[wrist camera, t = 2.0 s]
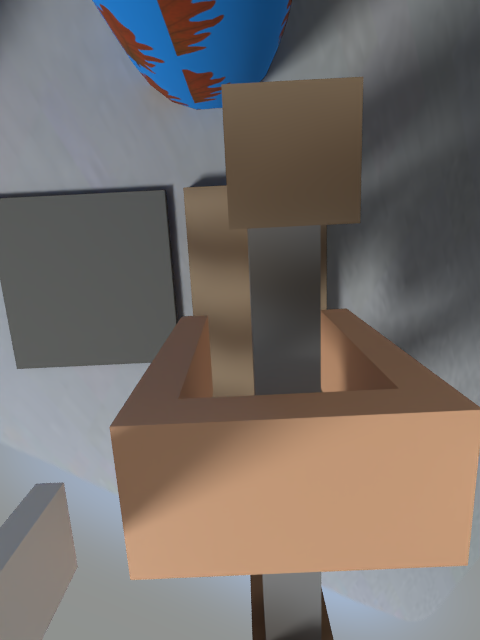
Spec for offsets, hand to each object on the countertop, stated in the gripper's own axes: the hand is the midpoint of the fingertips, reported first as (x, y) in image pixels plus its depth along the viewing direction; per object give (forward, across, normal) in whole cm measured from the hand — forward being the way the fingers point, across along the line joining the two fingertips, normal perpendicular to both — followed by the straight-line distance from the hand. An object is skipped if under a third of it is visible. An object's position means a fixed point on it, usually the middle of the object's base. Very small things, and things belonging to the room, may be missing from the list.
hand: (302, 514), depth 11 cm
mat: (+21, -13, +4) cm, 25 cm away
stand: (+21, 0, 0) cm, 21 cm away
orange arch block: (+14, 0, 0) cm, 14 cm away
